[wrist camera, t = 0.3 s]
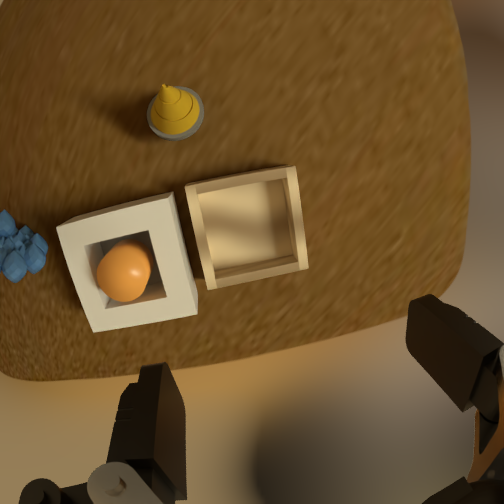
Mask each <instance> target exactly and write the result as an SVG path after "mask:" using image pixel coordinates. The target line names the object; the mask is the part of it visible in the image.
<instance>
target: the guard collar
mask: <svg viewBox="0 0 504 504" xmlns="http://www.w3.org/2000/svg"><path fill="white" fill-rule="evenodd" d="M56 229H57V232H58V236H59V239H60V243H61V246H62V249H63V253H64V256H65V259H66V262H67V265H68V268H69V271H70V274H71V277H72V279H73V282H74V285H75V288H76V290H77V293H78V296H79V298H80V301H81V304H82V306H83V309H84V311H85V314H86V316H87V318H88V321H89V323H90V326H91V328H92V330H93V332H99V331H106V330H112V329H118V328H124V327H130V326H136V325H142V324H148V323H153V322H159V321H164V320H170V319H175V318H180V317H185V316H191V315H196V314H197V305H198V293H197V289H196V285H195V281H194V277H193V273H192V269H191V265H190V261H189V257H188V253H187V249H186V245H185V240H184V236H183V232H182V228H181V223H180V219H179V214H178V210H177V205H176V201H175V196H174V191H173V192H169V193H164V194H160V195H156V196H151V197H147V198H143V199H139V200H135V201H131V202H127V203H123V204H119V205H115V206H112V207H108V208H104V209H101V210H97V211H93V212H90V213H86V214H83V215H79V216H76V217H73V218H71V219H70V220H68V221H66V222H64V223H63V224H61V225H59V226H57V227H56ZM125 239H134V240H137V241H140V242H142V243H143V244H144V245H146V246H147V248H148V249H149V250H150V252H151V254H152V257H153V269H152V272H151V274H150V277H149V279H148V282H147V285H146V287H145V289H144V291H143V293H142V294H141V295H140V296H139V297H138V298H136V299H135V300H132V301H129V302H120V301H116V300H114V299H112V298H110V297H108V296H107V295H106V294H105V293H104V292H103V291H102V289H101V288H100V286H99V284H98V281H97V268H98V265H99V263H100V261H101V260H102V259H103V258H104V257H105V255H106V254H107V253H108V252H109V251H110V250H111V249H112V247H113V246H114V245H115V244H116V243H118V242H119V241H121V240H125Z"/></svg>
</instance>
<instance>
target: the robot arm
mask: <svg viewBox="0 0 504 504" xmlns="http://www.w3.org/2000/svg"><path fill="white" fill-rule="evenodd" d="M406 345H407V348H408V351H409V352H410V354H411V355H412V356H413V357H414V358H415V359H416V360H417V362H418V363H419V364H420V365H421V366H422V367H423V368H424V369H425V370H426V371H427V372H428V374H429V375H430V376H431V377H432V378H433V379H434V380H435V382H436V383H437V384H438V385H439V386H440V387H441V388H442V389H443V391H444V392H445V393H446V394H447V395H448V396H449V397H450V398H451V400H452V401H453V402H454V403H455V404H456V405H457V406H458V408H459V409H460V410H461V411H462V412H464V411H466V410H468V409H469V408H471V407H472V406H475V407H476V408H477V410H476V413H475V435H474V455H473V463H472V466H471V469H470V472H469V474H468V477H467V480H466V479H465V477H462V478H460V479H459V480H457V481H456V482H454V483H453V484H451V485H449V486H448V487H446V488H444V489H443V490H441V491H439V492H437V493H436V494H434V495H432V496H430V497H429V498H428V499H427V500H425V501H424V502H423V503H422V504H504V343H503V342H501V341H500V340H499V339H498V338H496V337H495V336H494V335H493V334H491V333H490V332H489V331H488V330H486V329H485V328H484V327H482V326H481V325H480V324H478V323H476V321H475V320H473V319H472V318H470V317H468V315H467V314H465V313H464V312H463V311H461V310H460V309H459V308H457V307H454V306H451V305H449V304H446V303H443V302H442V301H440V300H439V299H438V298H436V297H435V296H434V295H432V294H428V295H425V296H423V297H420V298H417V299H414V300H412V301H411V302H410V304H409V308H408V319H407V330H406ZM185 417H186V416H185V406H184V402H183V399H182V396H181V394H180V392H179V389H178V387H177V385H176V382H175V380H174V378H173V376H172V373H171V371H170V368H169V366H168V364H167V363H166V362H162V363H156V364H149V365H143V366H142V367H141V370H140V374H139V379H138V383H130V384H129V385H128V387H127V388H126V389H125V390H124V392H123V393H122V395H121V397H120V401H119V405H118V411H117V414H116V418H115V420H116V422H115V423H114V427H113V432H112V437H111V442H110V447H109V452H108V457H107V461H106V464H103V465H101V466H99V467H98V468H96V470H95V471H93V473H92V474H91V475H90V477H89V479H88V482H86V483H83V484H79V485H74V486H70V487H65V488H59V487H58V486H57V485H56V484H55V483H54V482H52V481H51V480H48V479H44V478H40V479H36V480H33V481H31V482H30V483H28V484H27V485H26V486H25V487H24V489H23V490H22V493H21V496H20V500H19V504H175V501H176V500H187V487H186V445H185V444H186V440H185V437H186V436H185V435H186V431H185V430H186V427H185V426H186V424H185V423H186V421H185V420H186V419H185Z"/></svg>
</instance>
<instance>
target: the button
mask: <svg viewBox="0 0 504 504" xmlns="http://www.w3.org/2000/svg"><path fill="white" fill-rule="evenodd" d="M152 269H153V257H152V254H151V252H150V250H149V249H148V248H147V246H146V245H144V244H143V243H142V242H140V241H137V240H134V239H125V240H121V241H119V242H118V243H116V244H115V245H114V246H113V247H112V249H111V250H110V251H109V252H108V253H107V254H106V255H105V257H104V258H103V259H102V260H101V261H100V263H99V265H98V268H97V281H98V284H99V286H100V288H101V289H102V291H103V292H104V293H105V294H106V295H107V296H108V297H110V298H112V299H114V300H116V301H120V302H129V301H132V300H135V299H136V298H138V297H139V296H140V295H141V294H142V293H143V291H144V289H145V287H146V285H147V282H148V279H149V277H150V274H151V272H152Z"/></svg>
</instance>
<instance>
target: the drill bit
mask: <svg viewBox="0 0 504 504" xmlns="http://www.w3.org/2000/svg"><path fill="white" fill-rule="evenodd" d="M203 117H204V108H203V103H202V100H201V99H200V97H199V96H198V94H197V93H196V92H194V91H193V90H191V89H189V88H186V87H180V86H176V87H172V86H168V85H165V84H163V85H162V87H161V89H160V91H159V93H158V94H157V95H156V96H155V97H154V98H153V99H152V101H151V102H150V104H149V106H148V110H147V120H148V124H149V126H150V128H151V129H152V130H153V131H154V133H155V134H156V135H157V136H159V137H160V138H162V139H165V140H169V141H178V140H182V139H185V138H187V137H189V136H191V135H192V134H194V133H195V132H196V131H197V130H198V128H199V127H200V125H201V124H202V121H203Z"/></svg>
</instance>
